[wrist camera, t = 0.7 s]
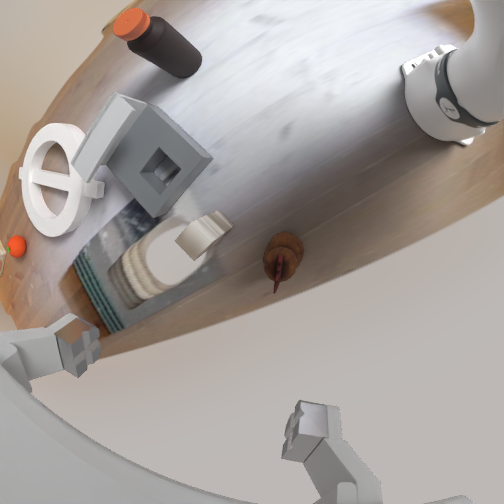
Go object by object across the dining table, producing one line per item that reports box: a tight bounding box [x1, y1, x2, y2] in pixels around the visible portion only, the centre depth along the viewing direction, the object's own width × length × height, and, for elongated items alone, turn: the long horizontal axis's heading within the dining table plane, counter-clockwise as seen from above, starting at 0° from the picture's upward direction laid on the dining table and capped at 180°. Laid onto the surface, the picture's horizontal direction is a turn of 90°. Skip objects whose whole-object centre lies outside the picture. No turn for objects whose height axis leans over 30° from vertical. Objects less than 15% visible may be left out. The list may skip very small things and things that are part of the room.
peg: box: [175, 210, 234, 260], centre depth 43 cm, size 4×4×12 cm
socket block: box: [71, 92, 213, 218], centre depth 41 cm, size 14×16×14 cm
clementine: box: [7, 235, 26, 258], centre depth 60 cm, size 8×7×7 cm
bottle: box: [113, 8, 202, 78], centre depth 32 cm, size 7×7×20 cm
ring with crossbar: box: [19, 123, 105, 237], centre depth 52 cm, size 28×28×5 cm
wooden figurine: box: [263, 232, 304, 293], centre depth 41 cm, size 7×6×15 cm
